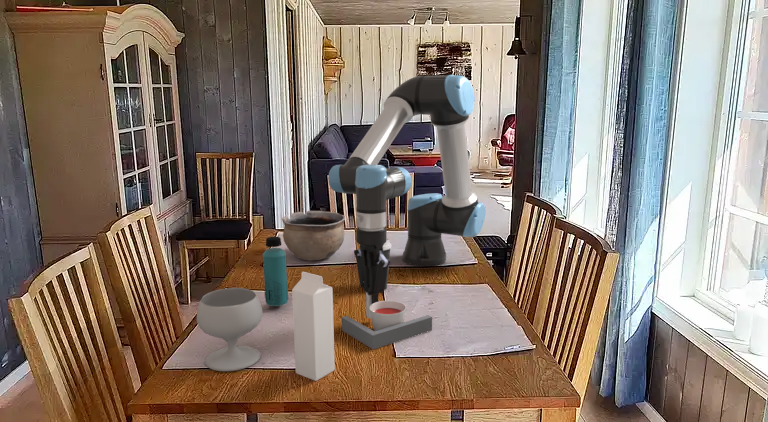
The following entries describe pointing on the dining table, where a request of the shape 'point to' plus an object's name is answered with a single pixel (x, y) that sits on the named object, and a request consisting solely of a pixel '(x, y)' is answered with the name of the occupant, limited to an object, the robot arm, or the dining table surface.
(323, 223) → the ceramic bowl
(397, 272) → the dining table surface
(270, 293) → the beverage bottle
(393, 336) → the corner fence
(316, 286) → the milk
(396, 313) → the candle
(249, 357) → the chalice
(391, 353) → the dining table surface
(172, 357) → the dining table surface
